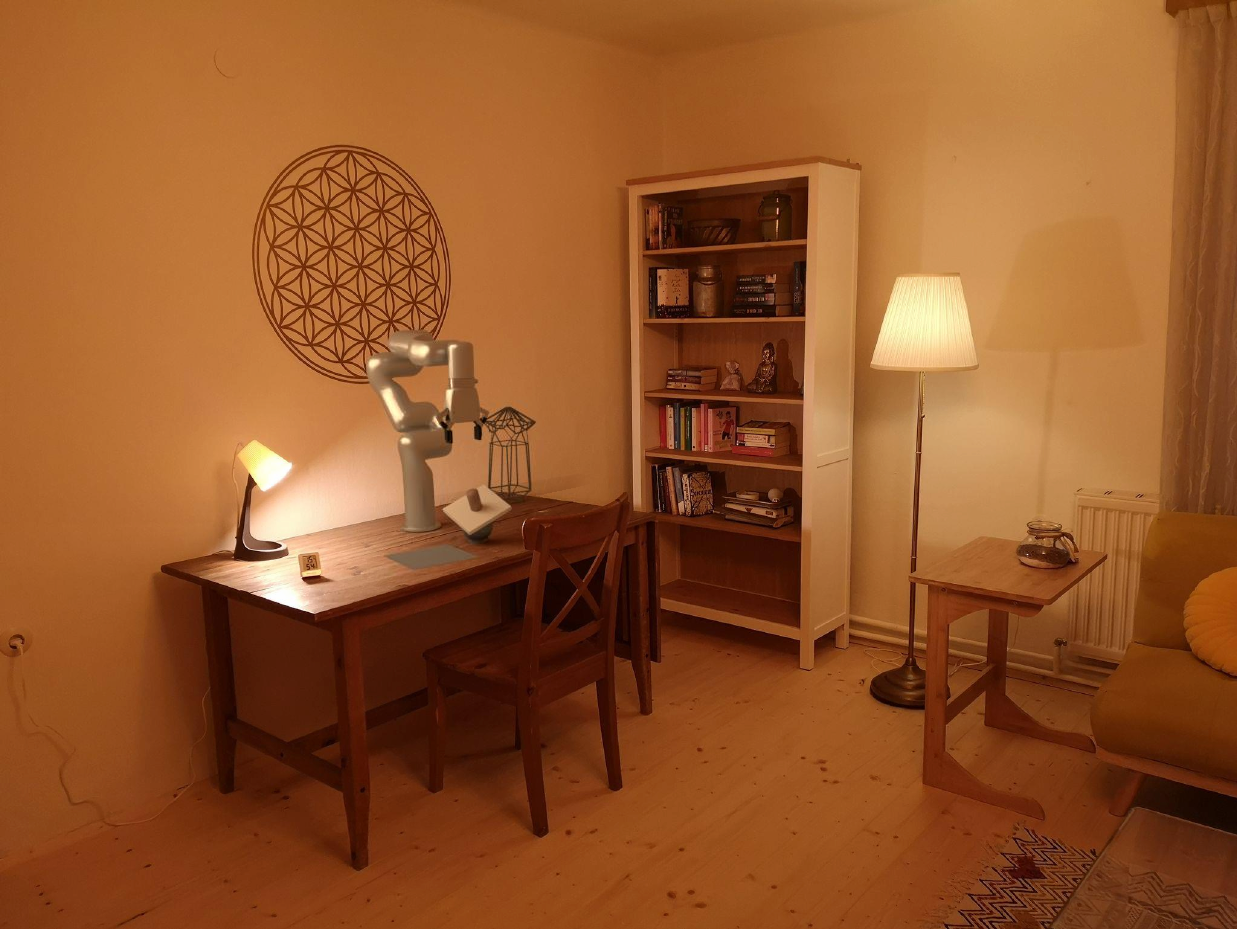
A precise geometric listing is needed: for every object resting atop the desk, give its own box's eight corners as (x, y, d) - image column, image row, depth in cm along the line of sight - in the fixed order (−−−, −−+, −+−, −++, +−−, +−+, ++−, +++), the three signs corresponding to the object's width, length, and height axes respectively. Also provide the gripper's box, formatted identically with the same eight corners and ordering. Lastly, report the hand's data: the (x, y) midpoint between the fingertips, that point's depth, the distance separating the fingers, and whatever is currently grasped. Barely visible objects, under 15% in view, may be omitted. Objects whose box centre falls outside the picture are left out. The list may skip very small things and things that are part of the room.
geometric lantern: (515, 496, 361) (513, 403, 355) (539, 502, 349) (538, 407, 343) (479, 501, 351) (477, 406, 345) (503, 508, 339) (501, 410, 333)
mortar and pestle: (480, 547, 282) (478, 507, 281) (455, 544, 287) (453, 505, 285) (503, 539, 292) (501, 500, 290) (479, 536, 297) (477, 498, 295)
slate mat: (383, 557, 274) (383, 555, 273) (446, 546, 285) (446, 544, 285) (413, 571, 258) (413, 569, 258) (479, 559, 269) (479, 556, 269)
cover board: (443, 511, 289) (437, 493, 284) (484, 487, 295) (479, 469, 291) (469, 535, 279) (464, 517, 275) (511, 509, 286) (506, 491, 281)
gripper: (480, 381, 290) (482, 437, 293) (429, 385, 280) (431, 443, 283) (493, 382, 285) (495, 440, 288) (441, 386, 274) (443, 446, 277)
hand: (463, 441), depth 285 cm, fingers open, 9 cm apart
